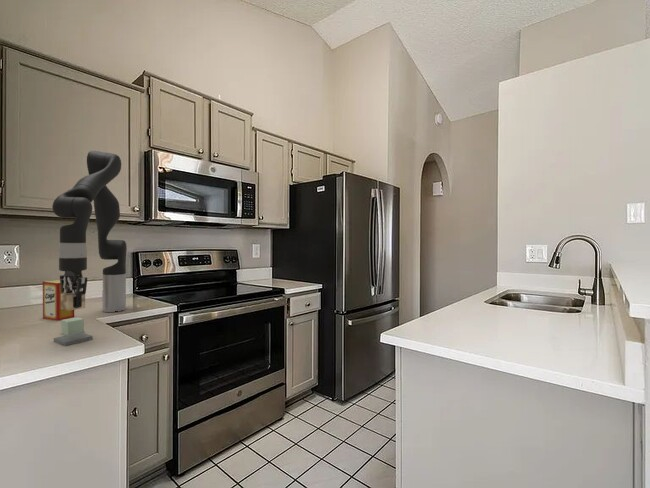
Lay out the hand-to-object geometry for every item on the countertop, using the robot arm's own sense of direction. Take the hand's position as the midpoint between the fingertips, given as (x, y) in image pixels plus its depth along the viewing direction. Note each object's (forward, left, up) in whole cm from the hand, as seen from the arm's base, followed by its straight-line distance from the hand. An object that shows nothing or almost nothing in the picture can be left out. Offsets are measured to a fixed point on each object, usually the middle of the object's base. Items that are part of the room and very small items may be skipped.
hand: (73, 306), depth 111 cm
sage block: (-10, +4, -12) cm, 16 cm away
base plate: (0, 0, -12) cm, 12 cm away
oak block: (0, 0, -1) cm, 1 cm away
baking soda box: (-39, +11, -12) cm, 42 cm away
